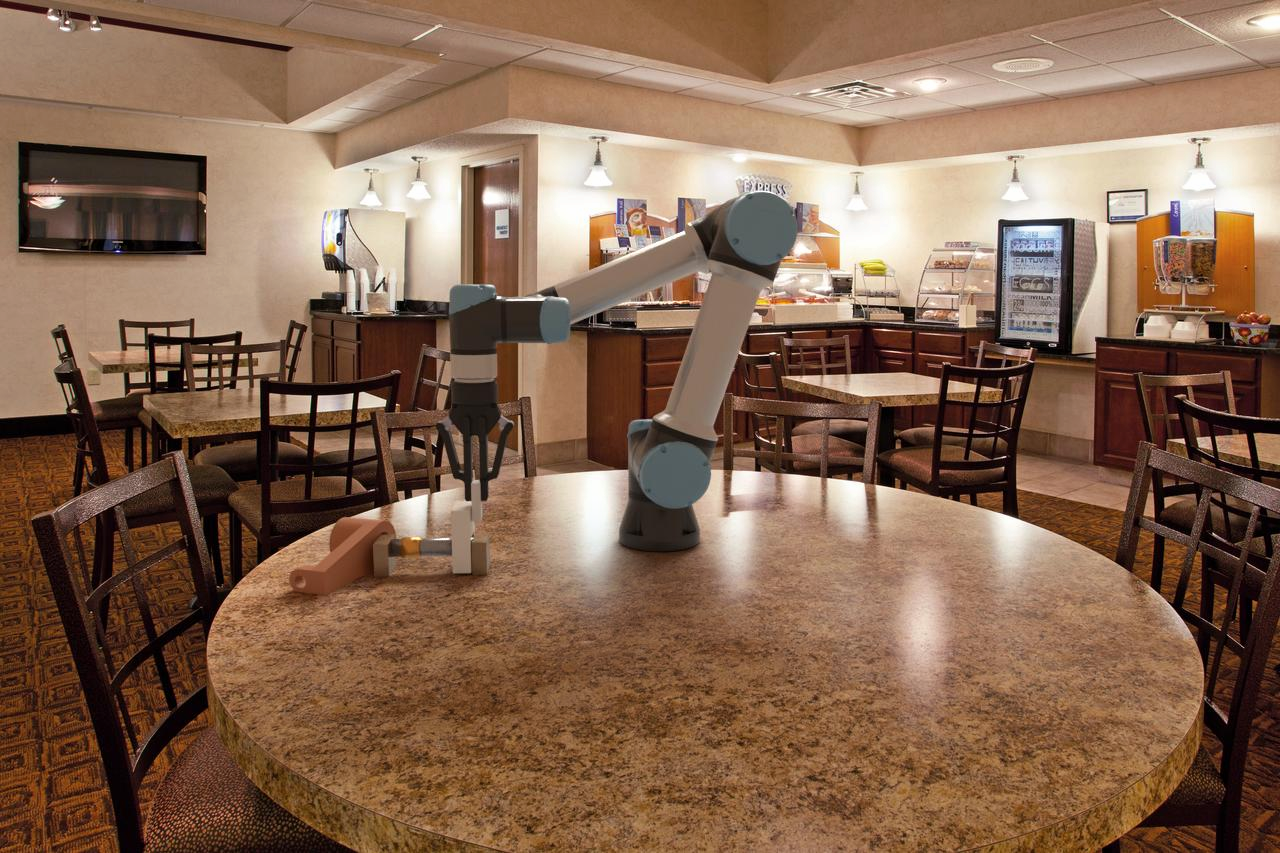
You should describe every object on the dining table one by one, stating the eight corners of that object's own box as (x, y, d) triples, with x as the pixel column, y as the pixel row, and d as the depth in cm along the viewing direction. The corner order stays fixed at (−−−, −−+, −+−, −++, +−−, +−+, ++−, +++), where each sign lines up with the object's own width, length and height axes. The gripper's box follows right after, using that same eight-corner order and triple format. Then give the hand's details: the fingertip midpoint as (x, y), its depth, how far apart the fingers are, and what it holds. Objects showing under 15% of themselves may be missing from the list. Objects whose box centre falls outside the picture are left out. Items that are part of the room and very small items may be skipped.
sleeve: (475, 560, 161) (473, 500, 159) (471, 572, 154) (469, 510, 152) (458, 560, 160) (456, 500, 159) (452, 573, 154) (450, 510, 152)
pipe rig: (490, 563, 160) (489, 531, 159) (487, 574, 154) (486, 541, 154) (381, 565, 159) (380, 533, 158) (374, 577, 153) (372, 543, 152)
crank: (358, 555, 166) (356, 512, 165) (397, 559, 164) (395, 515, 162) (283, 591, 147) (279, 542, 146) (325, 596, 145) (322, 547, 144)
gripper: (515, 377, 156) (517, 513, 160) (437, 377, 155) (441, 514, 159) (512, 382, 149) (515, 525, 153) (430, 382, 148) (434, 526, 152)
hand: (477, 519), depth 156 cm, fingers closed
